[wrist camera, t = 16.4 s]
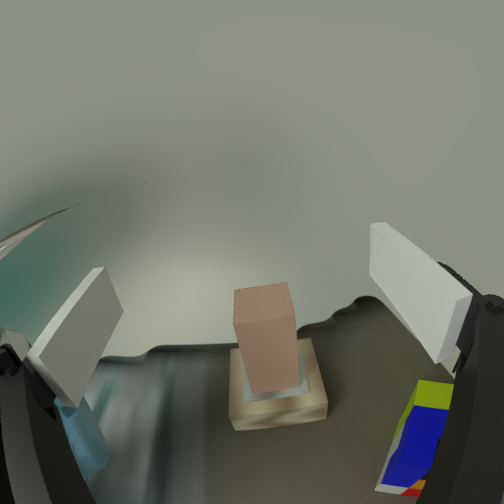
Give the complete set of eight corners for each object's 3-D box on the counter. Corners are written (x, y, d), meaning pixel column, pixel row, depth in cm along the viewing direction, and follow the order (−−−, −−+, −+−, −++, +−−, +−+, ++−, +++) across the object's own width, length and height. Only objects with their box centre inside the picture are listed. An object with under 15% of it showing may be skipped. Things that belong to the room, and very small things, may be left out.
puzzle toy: (374, 490, 20) (397, 464, 16) (397, 423, 27) (418, 379, 23) (448, 498, 15) (491, 470, 10) (462, 431, 22) (496, 388, 18)
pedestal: (235, 430, 31) (227, 414, 29) (235, 366, 42) (230, 347, 40) (326, 418, 31) (328, 400, 29) (311, 356, 42) (310, 335, 40)
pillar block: (251, 393, 32) (233, 323, 27) (250, 359, 37) (234, 289, 32) (299, 386, 32) (294, 315, 27) (293, 353, 37) (286, 282, 32)
